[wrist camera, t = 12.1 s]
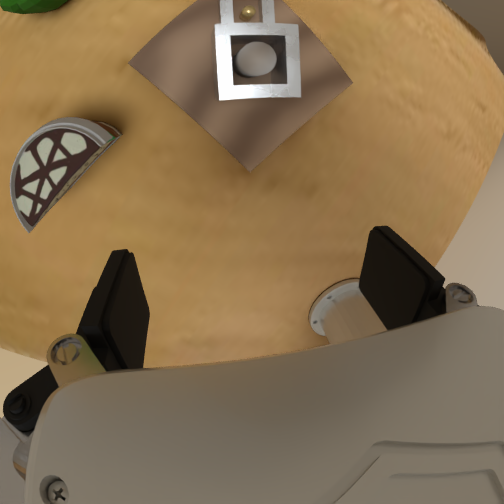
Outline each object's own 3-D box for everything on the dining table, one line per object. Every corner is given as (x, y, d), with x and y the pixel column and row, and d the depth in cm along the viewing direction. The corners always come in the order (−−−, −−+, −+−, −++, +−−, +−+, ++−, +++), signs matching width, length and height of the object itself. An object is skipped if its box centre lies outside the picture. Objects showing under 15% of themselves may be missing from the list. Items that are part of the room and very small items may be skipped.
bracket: (282, 95, 26) (301, 97, 22) (215, 98, 25) (219, 100, 21) (278, 2, 20) (295, -13, 16) (209, 3, 19) (212, -15, 15)
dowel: (253, 17, 21) (258, 11, 19) (244, 23, 21) (249, 18, 19) (245, 10, 20) (249, 3, 18) (236, 16, 21) (240, 10, 19)
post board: (346, 82, 28) (377, 84, 22) (247, 168, 32) (259, 187, 26) (243, -28, 19) (255, -51, 13) (131, 64, 23) (115, 58, 17)
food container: (100, 86, 23) (60, 88, 15) (132, 125, 26) (106, 141, 18) (33, 162, 25) (-12, 193, 17) (63, 196, 28) (26, 236, 20)
